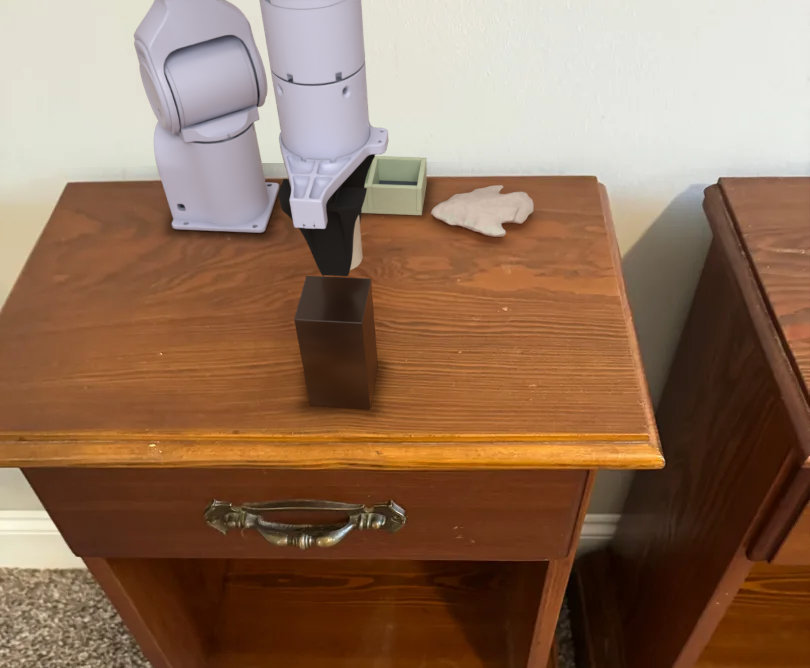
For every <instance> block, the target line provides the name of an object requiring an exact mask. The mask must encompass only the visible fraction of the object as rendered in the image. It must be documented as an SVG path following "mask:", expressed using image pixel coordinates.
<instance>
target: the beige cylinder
mask: <svg viewBox="0 0 810 668" xmlns="http://www.w3.org/2000/svg"><path fill="white" fill-rule="evenodd" d="M361 234H362V232H361V222H360V220H359V215H358V217H357V219H356V222H355V228H354V239H353V255H352V262H351V267H350V271H352V270H354V269H356V268H357V267H358V266H359V265H360V264H361V263H362V261H363V245H362V244H363V243H362V235H361Z"/></svg>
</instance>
